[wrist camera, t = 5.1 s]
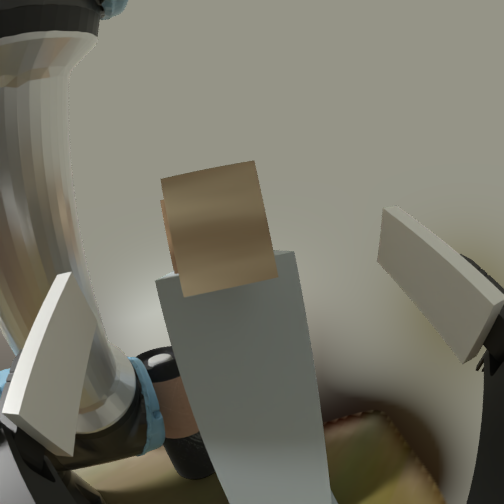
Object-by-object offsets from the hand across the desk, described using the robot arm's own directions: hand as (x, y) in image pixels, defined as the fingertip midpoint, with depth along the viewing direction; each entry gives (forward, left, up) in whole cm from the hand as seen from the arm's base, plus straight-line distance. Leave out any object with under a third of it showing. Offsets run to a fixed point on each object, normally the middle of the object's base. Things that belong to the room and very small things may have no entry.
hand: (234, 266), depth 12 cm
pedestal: (-7, +12, -31) cm, 35 cm away
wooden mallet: (-5, +8, -1) cm, 9 cm away
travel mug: (-23, +17, -32) cm, 43 cm away
